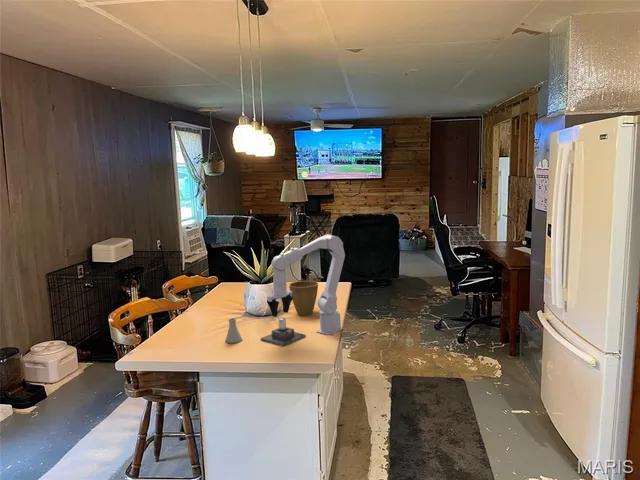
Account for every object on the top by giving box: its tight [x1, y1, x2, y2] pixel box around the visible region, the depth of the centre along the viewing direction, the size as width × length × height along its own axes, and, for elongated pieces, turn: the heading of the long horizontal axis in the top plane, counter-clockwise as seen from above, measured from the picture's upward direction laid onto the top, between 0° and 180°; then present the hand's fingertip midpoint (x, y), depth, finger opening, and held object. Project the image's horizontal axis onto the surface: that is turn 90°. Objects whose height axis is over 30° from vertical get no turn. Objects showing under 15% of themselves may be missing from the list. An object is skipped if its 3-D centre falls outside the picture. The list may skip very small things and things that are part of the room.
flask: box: [225, 317, 243, 344], centre depth 214 cm, size 7×7×10 cm
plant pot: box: [288, 280, 319, 317], centre depth 248 cm, size 15×15×16 cm
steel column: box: [278, 317, 287, 332], centre depth 213 cm, size 3×3×8 cm
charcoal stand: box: [260, 326, 307, 347], centre depth 213 cm, size 14×14×4 cm
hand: (280, 314), depth 211 cm, fingers open, 7 cm apart
